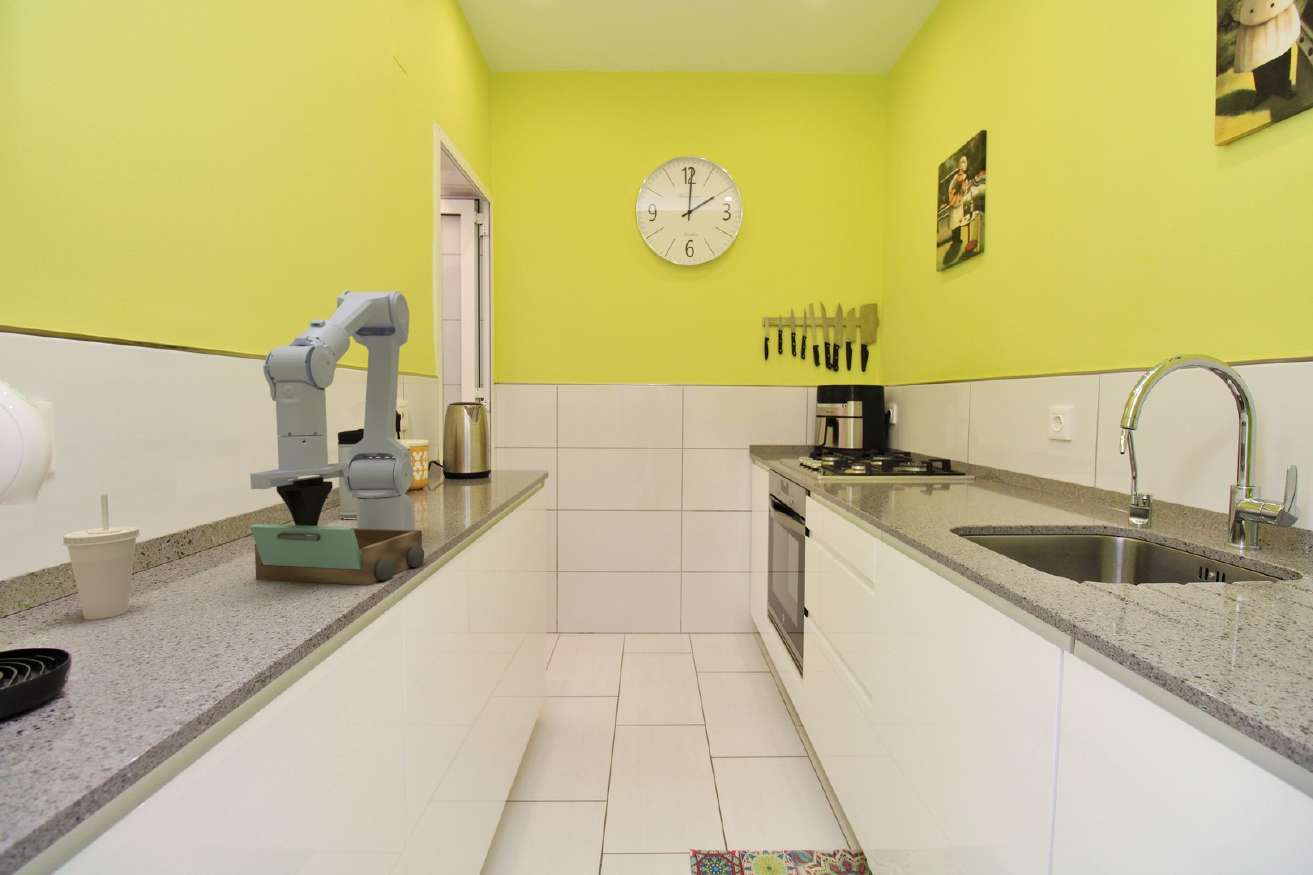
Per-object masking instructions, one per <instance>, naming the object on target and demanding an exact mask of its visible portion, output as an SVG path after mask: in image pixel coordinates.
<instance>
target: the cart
mask: <svg viewBox="0 0 1313 875" xmlns="http://www.w3.org/2000/svg"><path fill="white" fill-rule="evenodd" d="M353 529H354V532H355V536H356V539H357V543H358V547H359V550H360V554H361V557H362V568H361V569H340V568H319V567H298V566H277V565H263V563H262V560H261V557H260V554H259V552H258V549H257V546H256V543H254V562H255V564H254V565H255V579H256V580H263V581H264V580H265V581H283V582H303V583H318V584H319V583H321V584H335V585H336V584H337V585H338V584H340V585H355V586H356V585H357V586H358V585H361V586H371V585H373V584H375V583H378V582H380V581H384V582H385V581H387V582H388V581H389V580H391V579H392V577H393V576H394V575H397V574H399V573H401V572H403V571H406V570H408V569H411V568H420V567H421V566H422V565H423V562H424V560H425V550H424V549H423V537H422V536H423V533H422V531H423V530H422V529H421V530H420V529H415V530H394V529H362V528H357V527H355V528H354V527H353Z"/></svg>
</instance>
